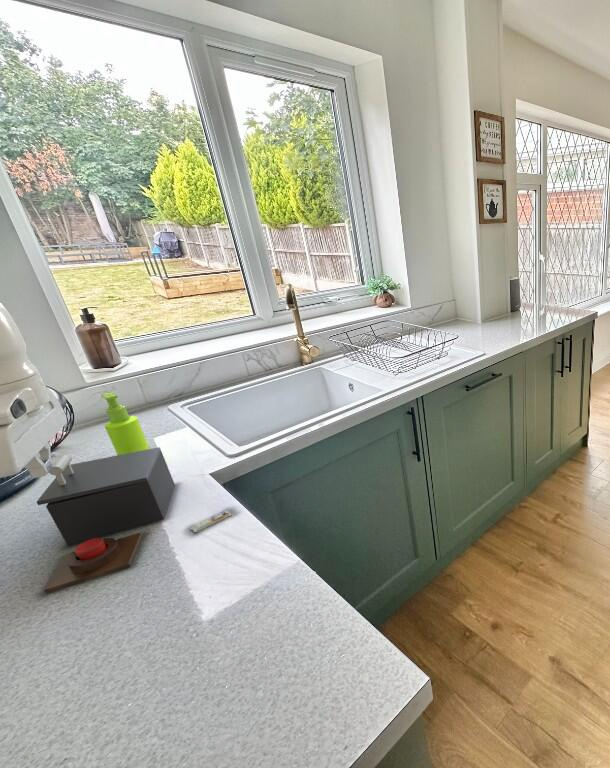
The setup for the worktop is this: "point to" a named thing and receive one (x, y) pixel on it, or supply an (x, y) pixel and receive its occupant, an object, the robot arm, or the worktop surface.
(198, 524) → the granola bar
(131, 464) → the box lid
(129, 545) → the button block
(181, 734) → the worktop surface
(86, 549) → the button
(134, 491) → the grey lidded storage box
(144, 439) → the soap dispenser
